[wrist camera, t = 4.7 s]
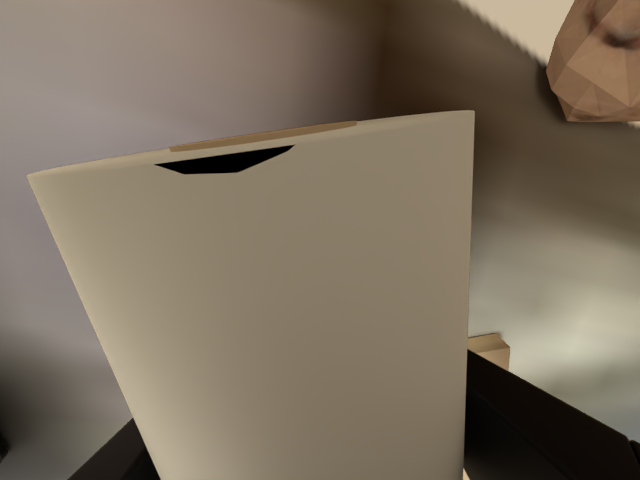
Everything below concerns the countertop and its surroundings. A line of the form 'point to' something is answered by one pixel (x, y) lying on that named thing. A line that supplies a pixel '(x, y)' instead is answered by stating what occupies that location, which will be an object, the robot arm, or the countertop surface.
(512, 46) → the countertop surface
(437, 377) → the roll
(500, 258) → the countertop surface
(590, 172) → the countertop surface
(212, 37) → the countertop surface
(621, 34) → the rock
